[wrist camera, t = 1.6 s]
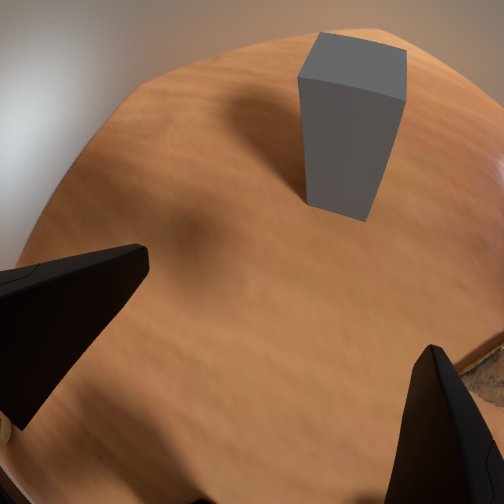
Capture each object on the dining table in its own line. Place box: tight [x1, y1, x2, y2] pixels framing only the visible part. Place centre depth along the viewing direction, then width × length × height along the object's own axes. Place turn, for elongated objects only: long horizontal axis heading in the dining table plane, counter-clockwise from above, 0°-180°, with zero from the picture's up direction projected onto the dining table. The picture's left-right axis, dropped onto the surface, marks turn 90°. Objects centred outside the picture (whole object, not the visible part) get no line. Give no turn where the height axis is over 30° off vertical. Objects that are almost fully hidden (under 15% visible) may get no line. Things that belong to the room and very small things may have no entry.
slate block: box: [297, 32, 407, 222], centre depth 17 cm, size 5×5×13 cm
